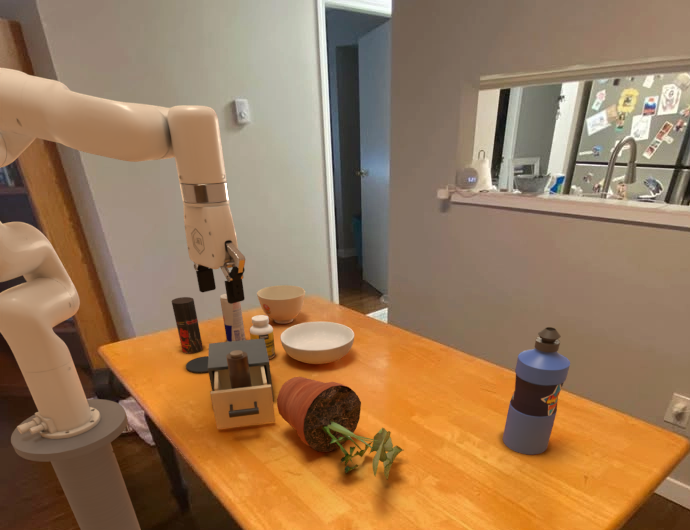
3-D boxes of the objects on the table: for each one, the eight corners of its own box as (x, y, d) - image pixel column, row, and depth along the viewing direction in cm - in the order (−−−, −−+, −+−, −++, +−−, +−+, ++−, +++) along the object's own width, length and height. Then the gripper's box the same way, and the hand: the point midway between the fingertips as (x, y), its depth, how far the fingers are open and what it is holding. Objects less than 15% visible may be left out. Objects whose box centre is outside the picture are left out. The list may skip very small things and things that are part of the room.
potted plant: (270, 443, 99) (382, 521, 75) (262, 377, 92) (383, 440, 68) (327, 422, 108) (444, 485, 84) (324, 360, 101) (450, 410, 78)
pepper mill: (244, 414, 102) (235, 358, 95) (230, 408, 104) (221, 353, 97) (258, 406, 105) (251, 351, 98) (245, 400, 107) (237, 346, 100)
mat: (202, 376, 122) (201, 374, 122) (178, 367, 127) (178, 365, 127) (231, 363, 129) (230, 361, 129) (207, 355, 134) (207, 353, 134)
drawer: (277, 432, 98) (273, 396, 94) (217, 440, 96) (210, 403, 91) (269, 393, 113) (265, 360, 108) (217, 399, 110) (211, 366, 105)
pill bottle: (255, 362, 130) (250, 323, 124) (250, 354, 135) (245, 315, 129) (278, 358, 132) (274, 319, 126) (272, 350, 137) (268, 312, 131)
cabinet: (273, 401, 111) (269, 361, 105) (215, 408, 108) (207, 368, 103) (268, 375, 123) (264, 338, 118) (215, 381, 120) (208, 343, 115)
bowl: (315, 323, 157) (313, 294, 151) (271, 332, 149) (267, 302, 144) (295, 310, 168) (292, 282, 163) (253, 318, 161) (249, 289, 156)
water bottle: (556, 442, 97) (587, 329, 84) (534, 460, 91) (563, 343, 78) (516, 424, 102) (539, 316, 89) (493, 441, 97) (514, 328, 84)
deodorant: (206, 349, 138) (197, 300, 130) (188, 355, 134) (177, 305, 126) (196, 344, 141) (187, 295, 133) (178, 349, 138) (167, 300, 130)
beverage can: (246, 339, 145) (239, 291, 137) (245, 346, 140) (238, 297, 132) (228, 340, 144) (220, 292, 136) (226, 347, 139) (218, 298, 131)
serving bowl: (268, 355, 134) (265, 333, 130) (324, 337, 146) (323, 316, 142) (311, 380, 121) (310, 355, 117) (369, 357, 133) (369, 335, 129)
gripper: (159, 192, 79) (180, 291, 88) (212, 201, 69) (229, 311, 78) (199, 189, 84) (214, 283, 93) (254, 197, 74) (266, 301, 83)
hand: (221, 296), depth 86 cm, fingers open, 9 cm apart
